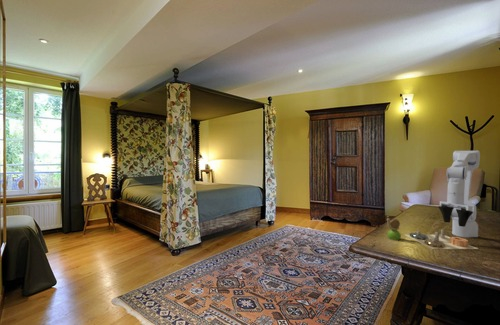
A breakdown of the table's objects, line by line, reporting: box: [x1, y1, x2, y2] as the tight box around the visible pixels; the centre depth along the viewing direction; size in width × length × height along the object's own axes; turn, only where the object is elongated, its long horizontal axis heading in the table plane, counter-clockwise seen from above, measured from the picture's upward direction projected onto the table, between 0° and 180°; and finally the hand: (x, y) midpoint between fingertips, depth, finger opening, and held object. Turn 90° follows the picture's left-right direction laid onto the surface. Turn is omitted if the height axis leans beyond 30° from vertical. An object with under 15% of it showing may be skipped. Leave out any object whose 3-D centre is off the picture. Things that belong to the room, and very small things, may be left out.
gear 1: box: [409, 232, 428, 240], centre depth 114 cm, size 7×7×1 cm
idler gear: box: [449, 236, 469, 247], centre depth 106 cm, size 6×6×2 cm
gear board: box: [404, 228, 479, 250], centre depth 110 cm, size 20×18×5 cm
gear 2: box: [424, 239, 445, 248], centre depth 105 cm, size 7×7×2 cm
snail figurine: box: [386, 215, 402, 241], centre depth 113 cm, size 5×6×12 cm
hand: (454, 224), depth 105 cm, fingers open, 7 cm apart
